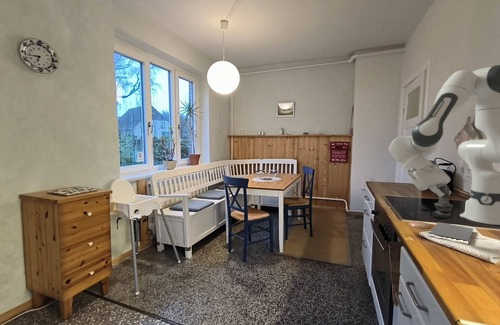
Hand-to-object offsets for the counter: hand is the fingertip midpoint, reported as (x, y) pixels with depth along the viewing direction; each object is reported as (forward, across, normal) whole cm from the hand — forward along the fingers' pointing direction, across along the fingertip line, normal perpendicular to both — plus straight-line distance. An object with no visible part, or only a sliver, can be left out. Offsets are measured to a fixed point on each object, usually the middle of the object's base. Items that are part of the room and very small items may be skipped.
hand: (446, 195), depth 95 cm
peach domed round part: (+4, +8, +22) cm, 24 cm away
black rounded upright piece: (+5, 0, +6) cm, 8 cm away
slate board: (+12, +8, +13) cm, 20 cm away
